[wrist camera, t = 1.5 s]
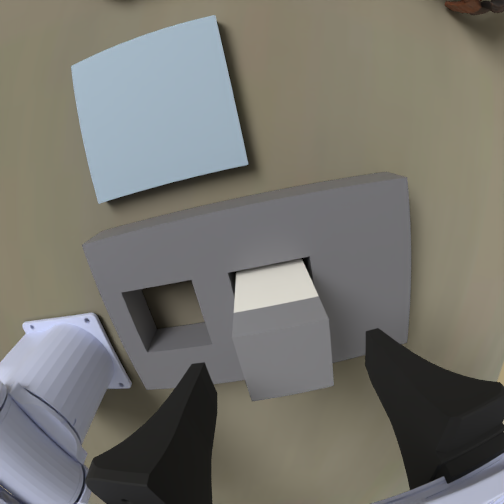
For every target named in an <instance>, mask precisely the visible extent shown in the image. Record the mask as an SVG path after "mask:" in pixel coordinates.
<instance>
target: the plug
mask: <svg viewBox="0 0 504 504" xmlns="http://www.w3.org/2000/svg"><path fill="white" fill-rule="evenodd" d="M232 339H233V343H234V346H235V349H236V353H237V356H238V359H239V362H240V366H241V369H242V372H243V375H244V378H245V381H246V385H247V388H248V391H249V394H250V397H251V400H252V401H257V400H264V399H270V398H276V397H282V396H287V395H293V394H298V393H303V392H308V391H312V390H317V389H321V388H326V387H330V386H334V381H333V365H332V352H331V339H330V328H329V319H328V316H327V314H326V312H325V309H324V307H323V305H322V303H321V300H320V298H319V296H318V294H317V291H316V289H315V287H314V285H313V283H312V280H311V278H310V276H309V274H308V272H307V269H306V267H305V265H304V263H303V261H302V258H299V259H294V260H290V261H285V262H280V263H275V264H270V265H265V266H260V267H254V268H249V269H244V270H239V271H236V285H235V300H234V315H233V330H232Z"/></svg>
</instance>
